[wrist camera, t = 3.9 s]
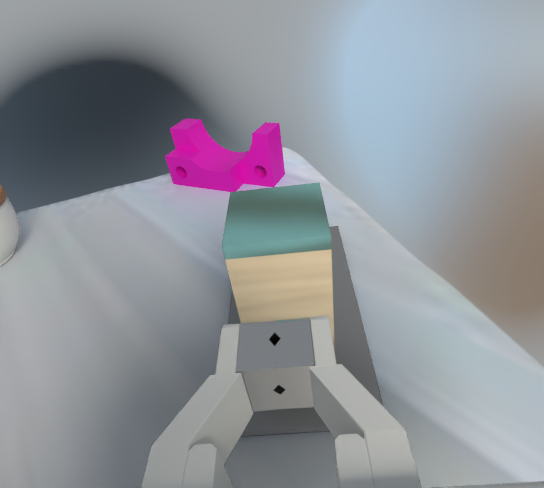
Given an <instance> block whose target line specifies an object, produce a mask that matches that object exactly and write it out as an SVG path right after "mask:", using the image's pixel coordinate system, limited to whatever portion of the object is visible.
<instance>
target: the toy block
mask: <svg viewBox="0 0 544 488" xmlns="http://www.w3.org/2000/svg"><path fill="white" fill-rule="evenodd" d="M170 130H171V133H172V137H173V140H174V144H175V148H176V149H175V150H174V151H172V152H171V153H169V154H168V155H166V156H165V157H166V161H167V164H168V167H169V171H170V174H171V177H172V180H173V184H177V185H185V186H192V187H199V188H207V189H214V190H221V191H229V192H236V191H237V190H238V189H239V188H240V187H241V186H242V184H243V183H244V184H252V185H260V186H268V187H274V186H275V185H276V184H277V183H278V182H279V181H280V179H281V178H282V177H283V176H284V175H285V171H284V162H283V153H282V144H281V136H280V126H279V123H264V124H263V125H262V126H261V127H260V128H258V129H257V130H256V131H255V132H254V133H252V144H251V147H250V150H249V151H247V152H243V153H242V152H240V153H239V152H232V151H229V150H227V149H225V148H223V147H221V146H220V145H218V144H217V143H216V142H215V141H214V140H213V139H212V138H211V137H210V136H209V135H208V133H207V131H206V130H205V128H204V126H203V124H202V121H201V119H185V120H183V121H181V122H180V123H178V124H176V125H175V126H173V127H172V128H170Z"/></svg>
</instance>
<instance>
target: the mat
mask: <svg viewBox="0 0 544 488" xmlns="http://www.w3.org/2000/svg"><path fill="white" fill-rule="evenodd" d="M329 229H330V233H331V250H332V282H333V313H334V344H335V358H336V364H342V365H343V366H344V367H345V368H346V369H347V370H348V371H349V372H350V373H351V374H352V375H353V376H354V377H355V378H356V379H357V380H358V381H359V382H360V383H361V384H362V385H363V386H364V387H365V388H366V389H367V390H368V391H369V392H370V394H371V395H372V396H373V397H374V398H375V399H376V400H377V401H378V402H379V403H380V404H381V405H382V406H383V404H382V400H381V396H380V392H379V388H378V384H377V380H376V376H375V372H374V368H373V364H372V360H371V356H370V352H369V348H368V344H367V340H366V336H365V332H364V328H363V324H362V320H361V316H360V312H359V308H358V304H357V300H356V296H355V292H354V288H353V284H352V280H351V276H350V272H349V268H348V264H347V260H346V256H345V252H344V249H343V245H342V241H341V237H340V233H339V229H338V226H334V227H329ZM240 323H241V322H240V318H239V314H238V310H237V306H236V302H235V298H234V294H233V290H232V296H231V305H230V314H229V323H228V324H240ZM316 431H330V430H329V429H328V428H327V426H326V425H325V423H324V422H323V420H322V419H321V418H320V416H319V415H318V413H317V412H316V411H315V409H314V407H310V408H289V409H284V408H283V409H276V410H266V411H256V412H253V415H252V417H251V419H250V421H249V422H248V424H247V426H246V428H245V429H244V431H243V433H242V435H241V436H255V435H270V434H286V433H301V432H316Z"/></svg>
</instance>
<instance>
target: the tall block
mask: <svg viewBox="0 0 544 488" xmlns="http://www.w3.org/2000/svg"><path fill="white" fill-rule="evenodd" d="M222 249H223V253H224V257H225V261H226V265H227V269H228V273H229V277H230V281H231V286H232V290H233V294H234V298H235V302H236V306H237V310H238V314H239V318H240V322H241V323H252V322H266V321H275V320H284V319H294V318H303V317H315V316H325V315H328V317H329V321H330V327H331V334H332V340H333V346H334V352H335V344H334V313H333V282H332V250H331V233H330V229H329V224H328V219H327V215H326V210H325V206H324V201H323V197H322V192H321V187H320V183H312V184H303V185H293V186H284V187H275V188H265V189H256V190H247V191H238V192H230V198H229V205H228V211H227V217H226V223H225V229H224V235H223V242H222Z"/></svg>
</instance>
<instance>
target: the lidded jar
mask: <svg viewBox="0 0 544 488" xmlns="http://www.w3.org/2000/svg"><path fill="white" fill-rule="evenodd" d="M19 233H20V227H19V221H18V218H17V215H16V212H15V210H14V208H13V206H12V204H11V202H10V200H9V199H8V197H7V195H6V192H5V190H4V188H3V187H2V185H0V266H2V265H3V264H5V263H6V262H7V261H8V260H10V259H11V257H12V256H13V255H14V253H15V247H16V245H17V242H18V239H19Z"/></svg>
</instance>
